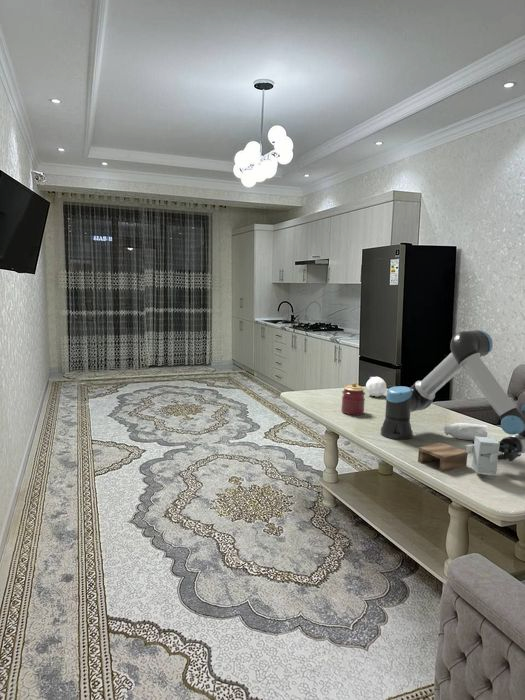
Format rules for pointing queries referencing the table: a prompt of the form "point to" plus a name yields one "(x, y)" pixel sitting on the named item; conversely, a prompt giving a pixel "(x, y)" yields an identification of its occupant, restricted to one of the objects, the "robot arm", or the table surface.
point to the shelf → (443, 456)
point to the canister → (353, 400)
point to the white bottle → (466, 431)
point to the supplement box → (485, 455)
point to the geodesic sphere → (376, 386)
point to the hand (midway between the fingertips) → (478, 453)
